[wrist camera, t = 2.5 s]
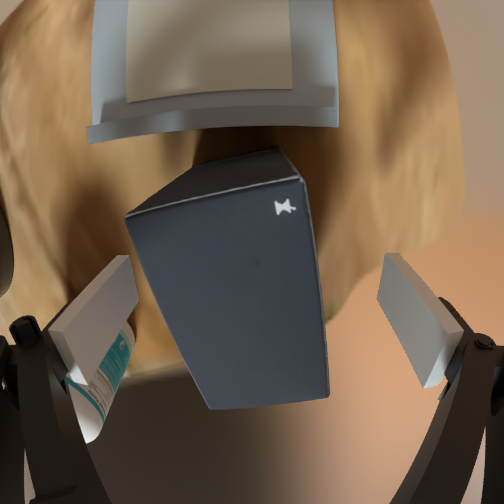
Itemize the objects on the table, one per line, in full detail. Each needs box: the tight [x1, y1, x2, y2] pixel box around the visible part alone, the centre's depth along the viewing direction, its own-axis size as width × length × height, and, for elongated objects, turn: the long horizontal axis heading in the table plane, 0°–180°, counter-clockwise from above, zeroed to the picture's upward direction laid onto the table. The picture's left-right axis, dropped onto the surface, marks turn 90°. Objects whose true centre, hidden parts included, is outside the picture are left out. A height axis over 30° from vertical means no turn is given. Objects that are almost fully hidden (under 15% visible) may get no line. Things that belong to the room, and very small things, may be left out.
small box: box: [124, 146, 330, 409], centre depth 15 cm, size 11×6×10 cm, turn 12°
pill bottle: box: [65, 321, 135, 443], centre depth 18 cm, size 8×7×14 cm
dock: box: [86, 0, 339, 144], centre depth 12 cm, size 14×16×4 cm
